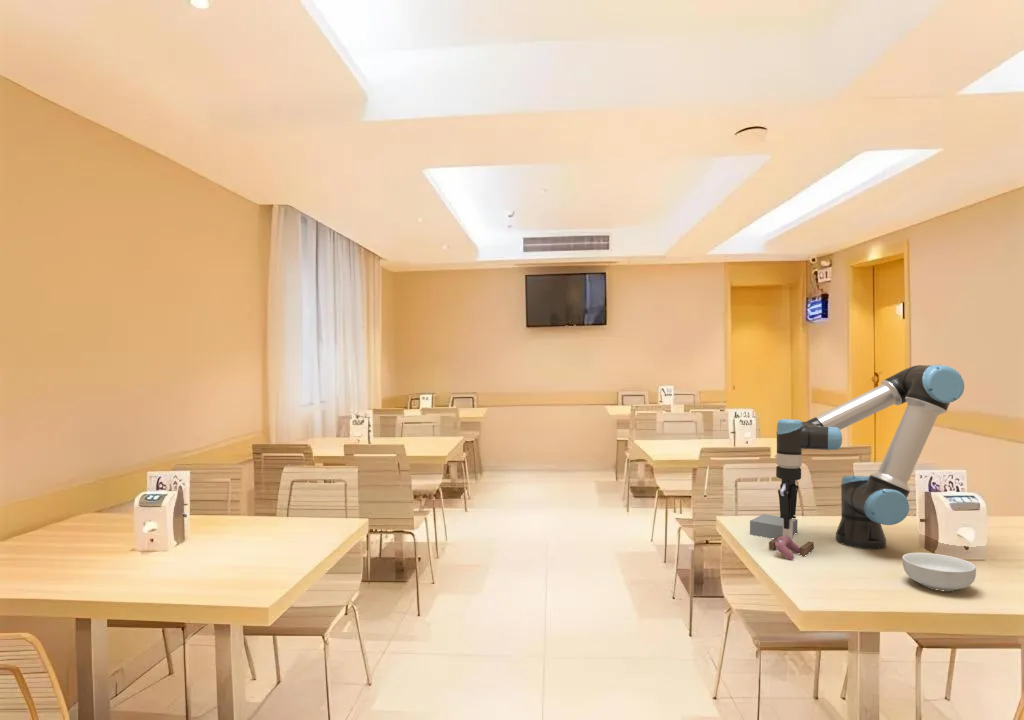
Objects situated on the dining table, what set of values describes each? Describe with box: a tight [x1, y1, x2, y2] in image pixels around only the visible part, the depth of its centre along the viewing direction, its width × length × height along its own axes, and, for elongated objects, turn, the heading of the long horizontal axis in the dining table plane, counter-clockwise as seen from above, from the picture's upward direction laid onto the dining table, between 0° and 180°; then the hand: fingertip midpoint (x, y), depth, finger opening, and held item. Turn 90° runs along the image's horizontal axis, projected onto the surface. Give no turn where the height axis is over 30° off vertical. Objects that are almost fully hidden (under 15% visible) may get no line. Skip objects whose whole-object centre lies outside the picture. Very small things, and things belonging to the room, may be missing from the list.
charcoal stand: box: [749, 513, 799, 539], centre depth 220 cm, size 12×14×5 cm
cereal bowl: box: [901, 552, 977, 592], centre depth 168 cm, size 17×17×7 cm
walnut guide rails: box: [768, 536, 815, 557], centre depth 201 cm, size 11×10×2 cm
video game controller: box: [775, 536, 801, 561], centre depth 195 cm, size 10×5×7 cm, turn 141°
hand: (787, 538), depth 200 cm, fingers closed
